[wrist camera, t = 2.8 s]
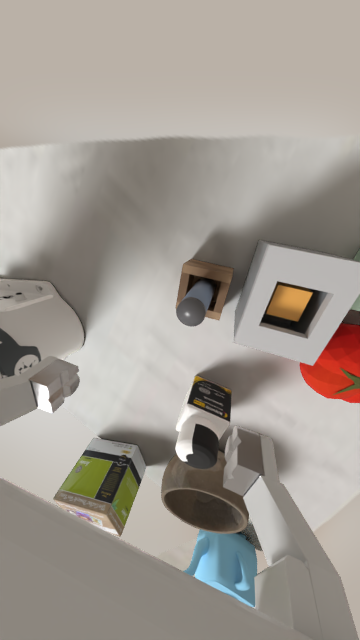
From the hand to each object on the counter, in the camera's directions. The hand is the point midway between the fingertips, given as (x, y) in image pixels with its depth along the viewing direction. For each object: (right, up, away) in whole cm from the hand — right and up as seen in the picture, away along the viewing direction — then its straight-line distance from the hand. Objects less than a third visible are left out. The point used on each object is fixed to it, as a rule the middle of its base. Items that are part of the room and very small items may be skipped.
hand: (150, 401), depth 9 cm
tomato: (+23, +1, +17) cm, 29 cm away
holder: (+5, +9, +18) cm, 21 cm away
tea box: (-16, -34, +46) cm, 59 cm away
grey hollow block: (+14, +9, +16) cm, 23 cm away
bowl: (+8, -29, +36) cm, 47 cm away
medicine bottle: (+7, -10, +28) cm, 30 cm away
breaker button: (+13, +7, +12) cm, 19 cm away
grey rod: (+5, +9, +18) cm, 20 cm away
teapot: (+14, -60, +49) cm, 79 cm away
